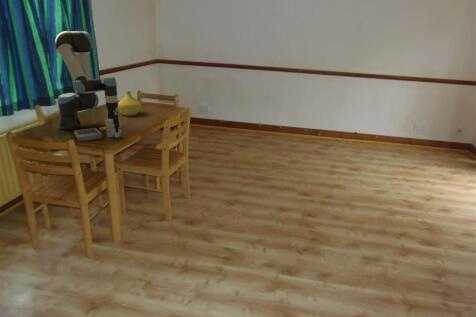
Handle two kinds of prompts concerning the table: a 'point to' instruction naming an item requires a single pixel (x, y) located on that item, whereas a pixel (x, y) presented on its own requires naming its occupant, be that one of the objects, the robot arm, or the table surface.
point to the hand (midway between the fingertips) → (114, 134)
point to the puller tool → (102, 128)
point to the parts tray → (87, 134)
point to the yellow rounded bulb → (129, 105)
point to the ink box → (112, 128)
